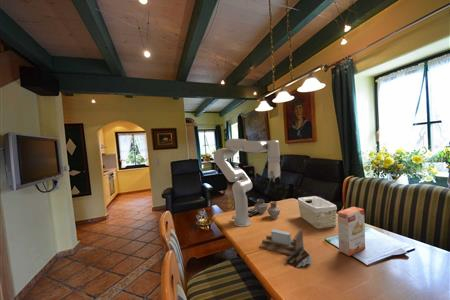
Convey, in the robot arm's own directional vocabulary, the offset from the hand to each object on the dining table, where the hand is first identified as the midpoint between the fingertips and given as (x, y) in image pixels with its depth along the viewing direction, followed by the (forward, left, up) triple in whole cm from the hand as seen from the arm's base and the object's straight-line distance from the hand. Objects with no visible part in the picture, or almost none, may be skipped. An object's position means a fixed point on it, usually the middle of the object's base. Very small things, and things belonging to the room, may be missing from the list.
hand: (275, 186), depth 122 cm
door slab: (+7, -15, -29) cm, 34 cm away
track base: (+7, -15, -30) cm, 34 cm away
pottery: (-18, +25, -31) cm, 43 cm away
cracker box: (+40, -2, -31) cm, 50 cm away
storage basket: (+18, +28, -31) cm, 45 cm away
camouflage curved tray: (+20, -25, -31) cm, 44 cm away
